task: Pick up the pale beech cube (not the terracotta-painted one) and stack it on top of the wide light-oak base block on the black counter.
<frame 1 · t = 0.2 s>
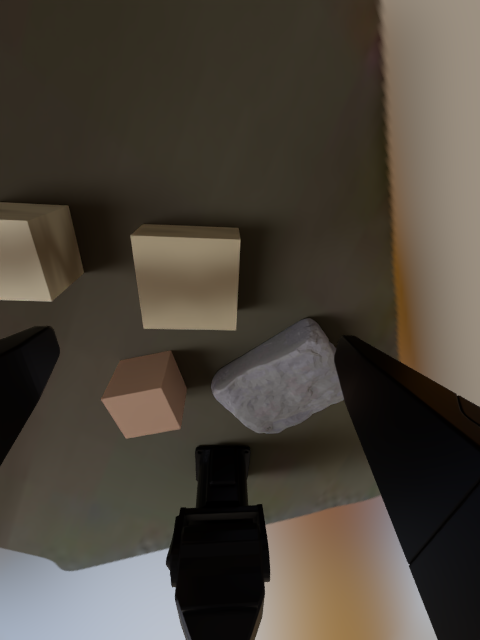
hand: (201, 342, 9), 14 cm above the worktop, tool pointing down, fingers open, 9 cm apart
oak base block: (193, 269, 23), on the worktop
terracotta block: (154, 374, 28), on the worktop
stone block: (283, 372, 30), on the worktop
beech block: (42, 239, 21), on the worktop
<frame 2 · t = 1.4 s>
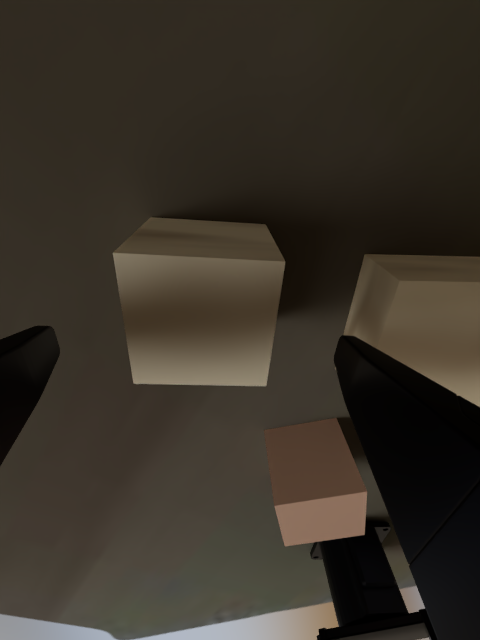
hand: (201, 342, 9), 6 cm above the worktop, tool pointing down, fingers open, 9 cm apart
oak base block: (407, 315, 16), on the worktop
terracotta block: (302, 445, 21), on the worktop
beech block: (208, 273, 14), on the worktop
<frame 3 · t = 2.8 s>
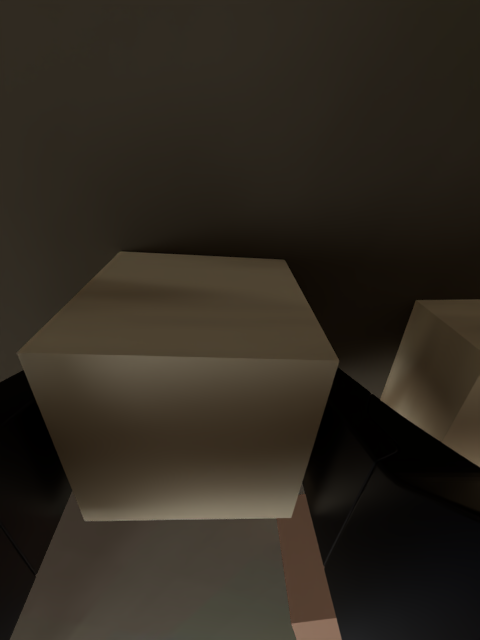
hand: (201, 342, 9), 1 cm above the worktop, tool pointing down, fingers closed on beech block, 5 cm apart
oak base block: (466, 370, 12), on the worktop
terracotta block: (320, 513, 17), on the worktop
beech block: (203, 325, 10), on the worktop, touching gripper
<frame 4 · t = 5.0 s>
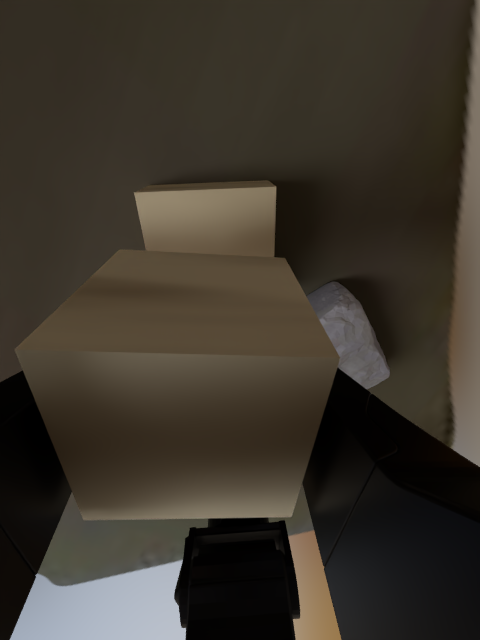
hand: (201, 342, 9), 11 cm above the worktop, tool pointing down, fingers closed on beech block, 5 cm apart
oak base block: (213, 240, 19), on the worktop
stone block: (300, 353, 24), on the worktop
beech block: (203, 323, 10), point 10 cm above the worktop, touching gripper
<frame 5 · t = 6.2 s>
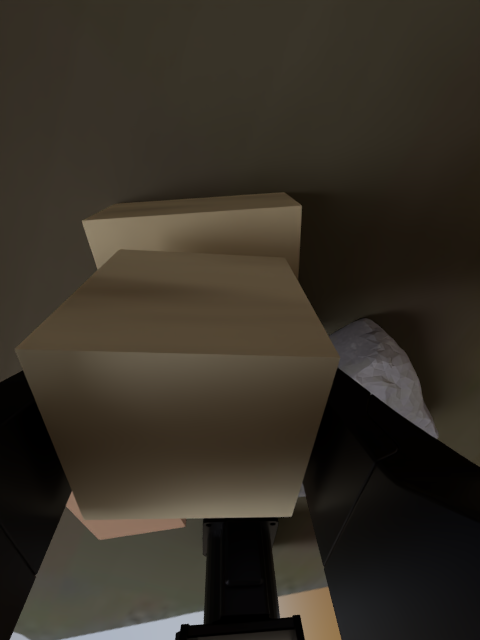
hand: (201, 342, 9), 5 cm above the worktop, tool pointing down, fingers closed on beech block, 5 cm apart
oak base block: (209, 274, 14), on the worktop
terracotta block: (146, 429, 19), on the worktop
stone block: (316, 402, 19), on the worktop
beech block: (203, 323, 10), point 4 cm above the worktop, touching gripper
when the fingers open (5 cm above the worktop, at t = 7.1 s): beech block stays where it is, resting on oak base block.
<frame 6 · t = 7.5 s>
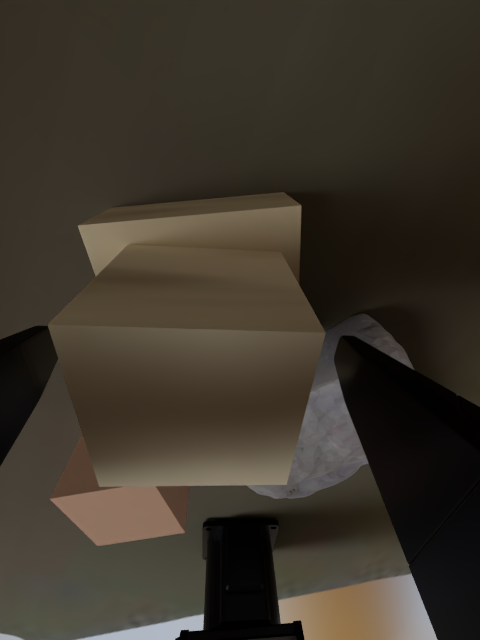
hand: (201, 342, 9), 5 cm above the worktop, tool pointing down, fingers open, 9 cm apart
oak base block: (209, 277, 14), on the worktop, touching beech block
terracotta block: (145, 433, 19), on the worktop
stone block: (313, 401, 19), on the worktop
beech block: (205, 313, 11), point 3 cm above the worktop, touching oak base block
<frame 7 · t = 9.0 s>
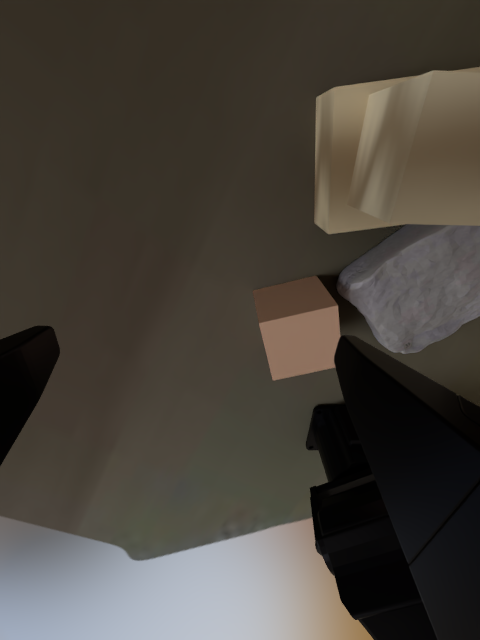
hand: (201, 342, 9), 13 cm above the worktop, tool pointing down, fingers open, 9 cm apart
oak base block: (368, 158, 19), on the worktop
terracotta block: (288, 310, 24), on the worktop
stone block: (421, 272, 23), on the worktop
beech block: (402, 155, 15), point 3 cm above the worktop
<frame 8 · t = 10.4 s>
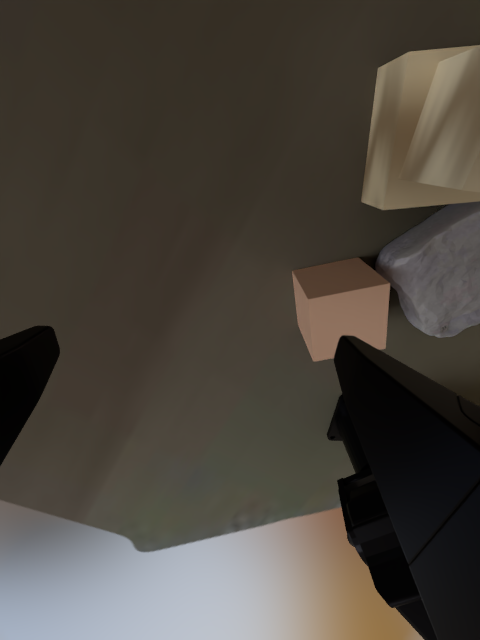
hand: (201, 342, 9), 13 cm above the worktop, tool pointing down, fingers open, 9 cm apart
oak base block: (421, 136, 18), on the worktop, touching beech block, stone block
terracotta block: (325, 292, 23), on the worktop
stone block: (459, 255, 22), on the worktop, touching oak base block
beech block: (461, 131, 15), point 3 cm above the worktop, touching oak base block
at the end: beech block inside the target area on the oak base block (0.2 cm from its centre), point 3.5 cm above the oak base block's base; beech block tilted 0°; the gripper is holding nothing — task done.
